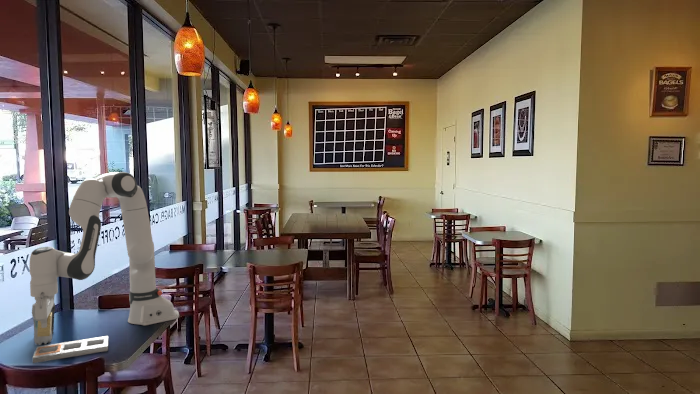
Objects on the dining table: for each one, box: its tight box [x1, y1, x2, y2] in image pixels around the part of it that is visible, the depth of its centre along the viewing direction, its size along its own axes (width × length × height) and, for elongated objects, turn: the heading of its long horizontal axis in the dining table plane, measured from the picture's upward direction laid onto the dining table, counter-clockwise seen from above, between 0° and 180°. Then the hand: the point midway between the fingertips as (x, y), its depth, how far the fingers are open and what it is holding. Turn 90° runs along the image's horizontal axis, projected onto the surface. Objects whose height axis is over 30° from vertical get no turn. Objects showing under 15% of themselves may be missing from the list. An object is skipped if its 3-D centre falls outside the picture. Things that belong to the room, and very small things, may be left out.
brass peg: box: [37, 312, 52, 337], centre depth 183 cm, size 4×4×8 cm
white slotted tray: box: [32, 335, 109, 364], centre depth 187 cm, size 25×12×2 cm, turn 116°
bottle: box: [31, 302, 53, 346], centre depth 195 cm, size 7×7×20 cm
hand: (45, 324), depth 183 cm, fingers closed on brass peg, 4 cm apart
